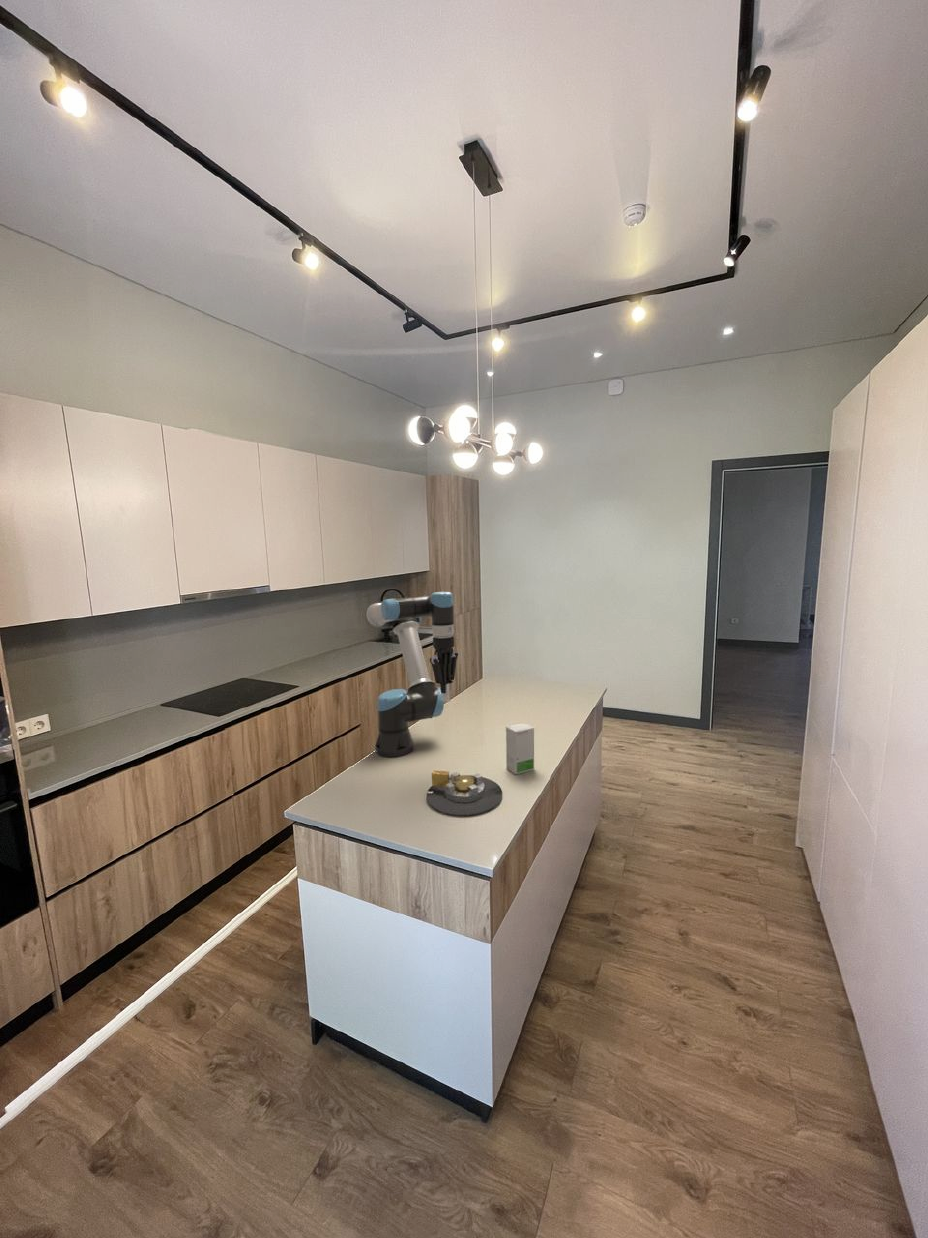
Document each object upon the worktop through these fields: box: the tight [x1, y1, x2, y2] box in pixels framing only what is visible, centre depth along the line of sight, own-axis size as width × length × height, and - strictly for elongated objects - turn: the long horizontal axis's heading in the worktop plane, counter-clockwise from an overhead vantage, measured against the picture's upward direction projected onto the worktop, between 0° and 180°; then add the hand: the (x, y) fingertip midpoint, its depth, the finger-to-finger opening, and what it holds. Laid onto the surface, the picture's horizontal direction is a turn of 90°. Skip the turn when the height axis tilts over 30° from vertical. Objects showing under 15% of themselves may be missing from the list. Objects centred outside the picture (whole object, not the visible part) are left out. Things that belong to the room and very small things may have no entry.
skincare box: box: [505, 722, 535, 775], centre depth 170 cm, size 8×7×16 cm
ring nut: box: [431, 770, 485, 803], centre depth 153 cm, size 17×13×6 cm
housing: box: [426, 774, 503, 818], centre depth 153 cm, size 24×24×6 cm
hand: (446, 701), depth 172 cm, fingers closed
